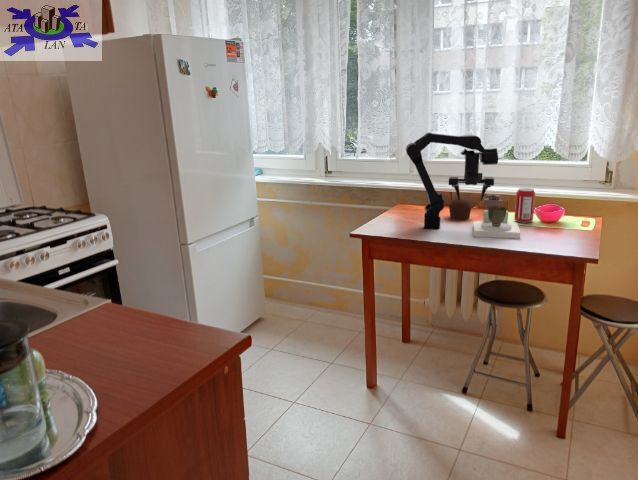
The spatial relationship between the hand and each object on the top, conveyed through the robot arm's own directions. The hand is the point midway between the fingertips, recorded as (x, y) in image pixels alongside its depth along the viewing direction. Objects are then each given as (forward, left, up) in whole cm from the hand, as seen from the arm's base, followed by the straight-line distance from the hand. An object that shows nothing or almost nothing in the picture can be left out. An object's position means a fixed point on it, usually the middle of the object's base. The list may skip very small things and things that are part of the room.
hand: (470, 200), depth 214 cm
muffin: (-4, +16, -12) cm, 21 cm away
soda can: (+24, +13, -12) cm, 30 cm away
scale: (+11, -7, -12) cm, 18 cm away
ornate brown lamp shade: (+11, -9, -9) cm, 17 cm away
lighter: (+11, +24, -12) cm, 29 cm away
